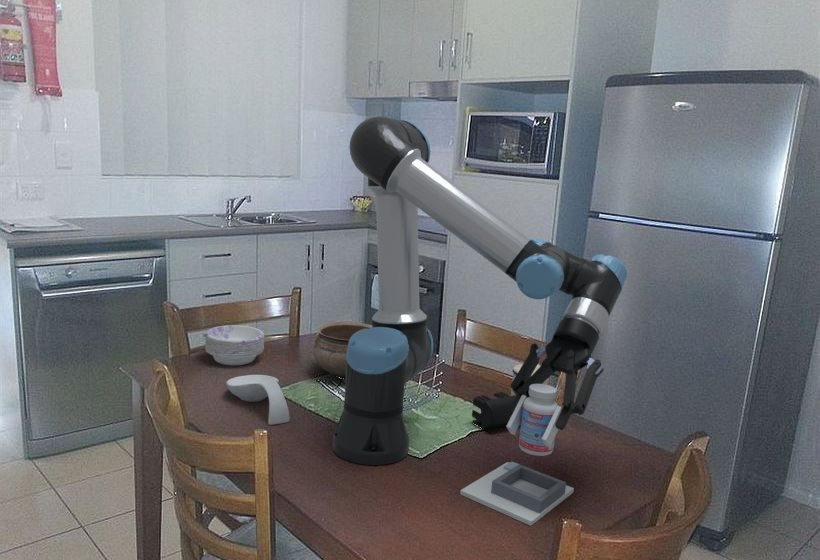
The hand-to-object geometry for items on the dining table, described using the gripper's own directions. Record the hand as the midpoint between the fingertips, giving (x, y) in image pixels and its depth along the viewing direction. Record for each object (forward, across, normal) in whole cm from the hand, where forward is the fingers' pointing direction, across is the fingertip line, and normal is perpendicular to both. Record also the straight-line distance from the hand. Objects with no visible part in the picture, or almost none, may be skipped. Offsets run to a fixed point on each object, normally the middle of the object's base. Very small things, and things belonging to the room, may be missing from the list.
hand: (528, 436), depth 113 cm
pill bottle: (0, 0, -5) cm, 5 cm away
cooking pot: (-9, +66, -27) cm, 71 cm away
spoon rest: (+12, +64, -6) cm, 66 cm away
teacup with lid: (-23, +22, -41) cm, 52 cm away
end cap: (-10, +22, -28) cm, 37 cm away
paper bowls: (+1, +94, -16) cm, 95 cm away
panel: (+6, +2, -11) cm, 13 cm away
